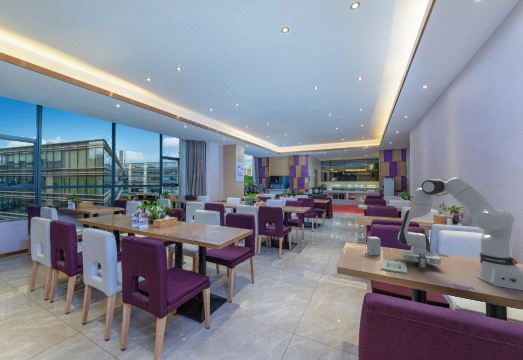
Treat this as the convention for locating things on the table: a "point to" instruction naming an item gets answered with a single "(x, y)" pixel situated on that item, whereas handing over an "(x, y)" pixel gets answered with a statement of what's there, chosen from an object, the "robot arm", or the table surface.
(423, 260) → the drive
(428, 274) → the table surface
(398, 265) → the pin tray
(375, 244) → the supplement box
